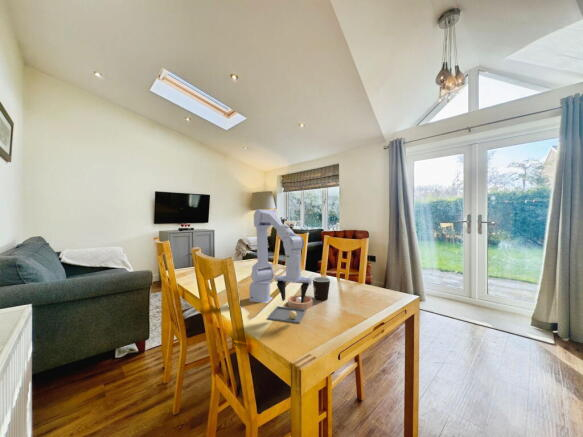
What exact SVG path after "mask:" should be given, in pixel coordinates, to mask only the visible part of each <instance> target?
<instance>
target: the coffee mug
mask: <svg viewBox="0 0 583 437" xmlns="http://www.w3.org/2000/svg"><path fill="white" fill-rule="evenodd" d="M330 285H331V279H330V278H328V277H323V276H315V277H313V278H312V288H313V297H314V300H315V301H318V302H320V301H321V302H324V301H325V302H326V301H327V300H328V298H329V291H330Z"/></svg>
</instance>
